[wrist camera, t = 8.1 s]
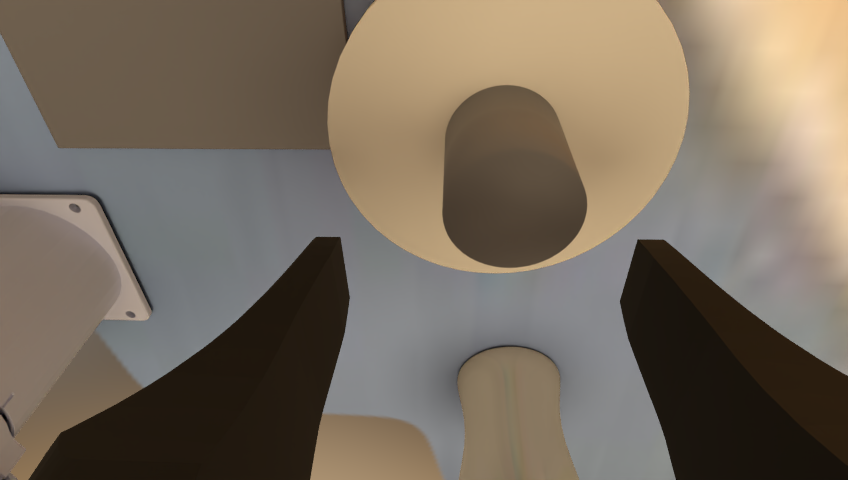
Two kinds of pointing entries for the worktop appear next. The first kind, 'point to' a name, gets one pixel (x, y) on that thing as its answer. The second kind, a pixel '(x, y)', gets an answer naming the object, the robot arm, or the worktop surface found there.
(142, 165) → the worktop surface
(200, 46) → the mat
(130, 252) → the worktop surface
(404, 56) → the lid
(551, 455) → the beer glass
